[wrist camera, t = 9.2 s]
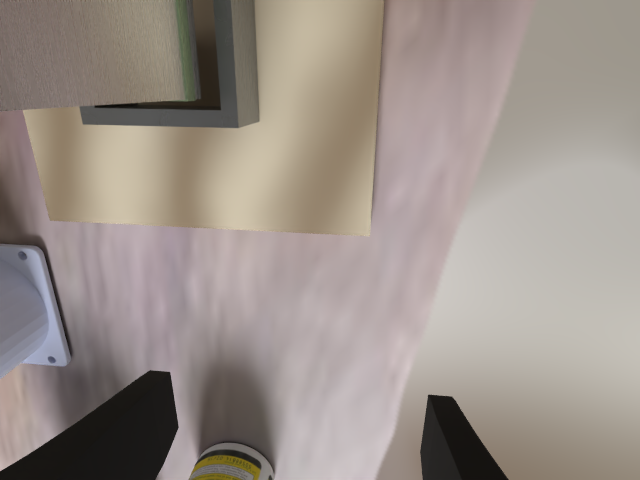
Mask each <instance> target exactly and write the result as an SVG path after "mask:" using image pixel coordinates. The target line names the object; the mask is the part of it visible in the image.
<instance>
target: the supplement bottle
mask: <svg viewBox="0 0 640 480" xmlns="http://www.w3.org/2000/svg"><path fill="white" fill-rule="evenodd" d="M189 480H274V473H273V470H272V467H271V465H270V464H269V462H268V461H267V460H266V458H265V457H263V456H262V455H261V454H260V453H259V452H257V451H256V450H254V449H252V448H250V447H248V446H245V445H242V444H238V443H221V444H217V445H214V446H212V447H210V448H208V449H207V450H205V451H204V452H203V453H202V455H201V456H200V457H199V459H198V461H197V463H196V464H195V467H194V469H193V471H192V473H191V476H190V478H189Z"/></svg>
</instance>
